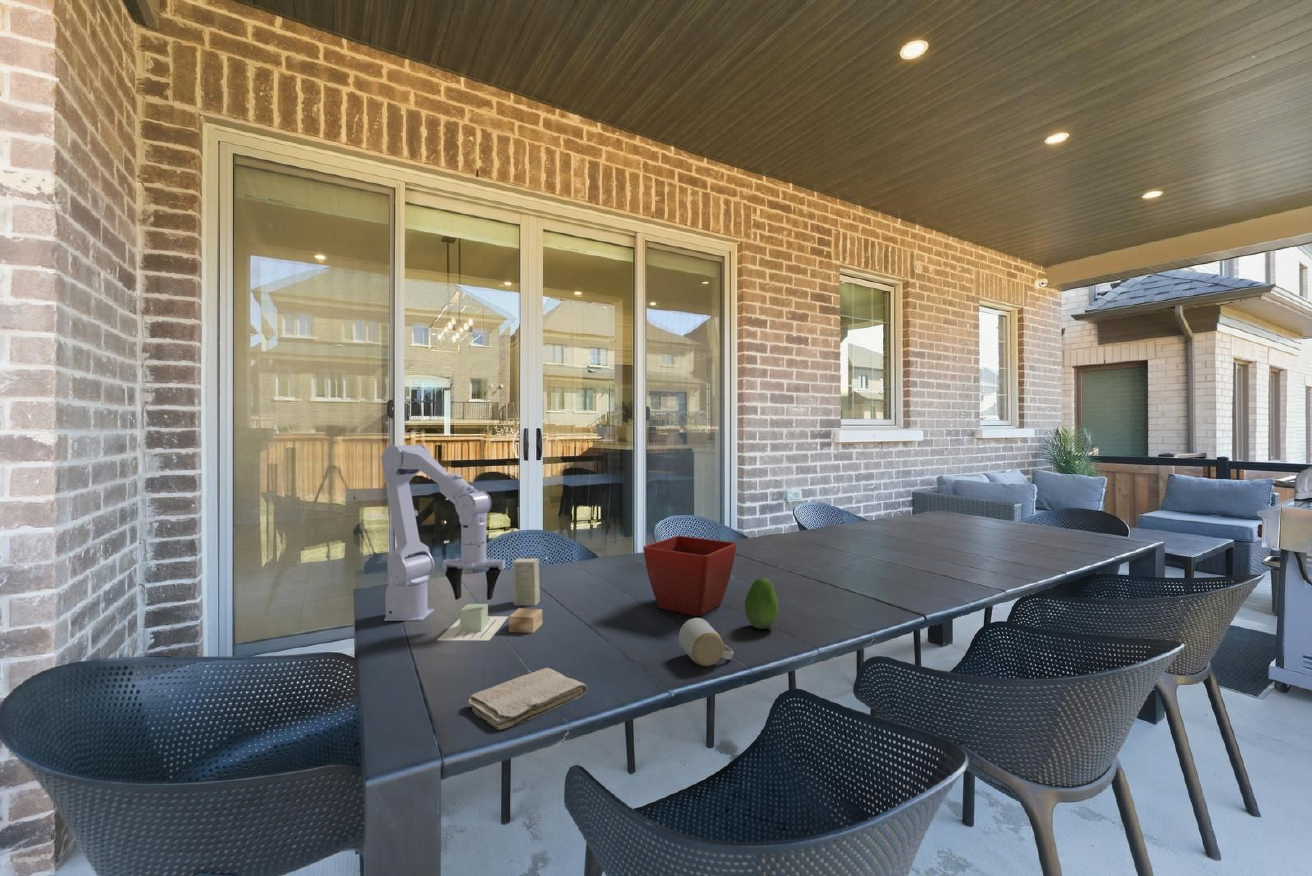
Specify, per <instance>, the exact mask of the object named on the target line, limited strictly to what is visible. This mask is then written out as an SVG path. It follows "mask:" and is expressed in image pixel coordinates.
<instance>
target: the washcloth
mask: <svg viewBox="0 0 1312 876" xmlns="http://www.w3.org/2000/svg"><path fill="white" fill-rule="evenodd" d="M587 690H588V685H587V684H586V683H584V682H582V681H579V680H577V679H574V678H570V677H567V676H565V675H564V674H562V673H560V672H558V671H556V670H554V669H552V668H549V667H544V668H541V669H538V670H536V671H533V672H531V673H528V674H524V675H522V676H518V677H515V678H513V679H511V680H507V681H505V682H502V683H499V684H498V685H494V686H492V687H489V688H486V689H483V690H480V691H478V692H474V693H472V694H471V695H469V697H468V706H467V707H468V708H469V707H472V708H471V710H472V712H474V713H473V714H475V715H476V716H478V718H480V717H481V718H480V719H482V720H484V721H485V720H486V721H485V722H487V723H488V724H489V725H491V726H492V727H494V729H496V730H499V731H501V730H505V729H509V728H513V727H515V726H516V725H517V726H518V725H520V724H523V723H526V722H527V721H526V720H528V721H530V720H532V719H534V718H537V717H539V716H542V715H544V714H546V713H548V712H550V711H553V710H555V709H556V708H559V707H561V706H563V705H565V704H568V703H570V702H572V701H574V700H575V701H576V700H577V699H579V698H581V697H583V696H584V695H585V694H586V693H587ZM524 720H525V721H524Z"/></svg>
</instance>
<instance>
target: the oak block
mask: <svg viewBox="0 0 1312 876" xmlns="http://www.w3.org/2000/svg"><path fill="white" fill-rule="evenodd" d="M542 625H543V609H539V608H523V607H521V608H520V607H518V608H517V610H515V611H514V612H512V613H511V614H510V615H509V617H508V632H509V633H510V632H511V633H528V634H529V633H530V634H534V633H535V632H536V631H537V630H538V629H539V628H540V627H541V626H542Z"/></svg>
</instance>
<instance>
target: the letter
mask: <svg viewBox="0 0 1312 876" xmlns="http://www.w3.org/2000/svg"><path fill="white" fill-rule="evenodd" d="M509 616H510V615H509ZM509 616H500V615H499V616H496V615H495V616H489V615H488V625H487V626H486V627H485V628H484V629H483V630H482V631H481V632H460V618H458V619H457V620H456V621H455V622H454V624H452V625H451V626H450V627H449V628H448V629H447V630H445V632H444V633H443V634H442V635H440V636H439V637H438V638H437V639H436V641H443V642H444V641H491V639H492V638H493V637H494V635H495V634H496V633H497V632H498V630H499V629H500V628H501V626H502V625H503V624H504V623H505V622H506V621H507V619H509Z"/></svg>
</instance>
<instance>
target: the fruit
mask: <svg viewBox="0 0 1312 876" xmlns="http://www.w3.org/2000/svg"><path fill="white" fill-rule="evenodd" d="M778 603H779V602H778V599H777V595H776V592H775V588H774V585H773V583H772V581H771V580H770V579H769V578H766V577H765V578H764V577H760V578H757V579H756V580H755V581H754V582H753V583H752V584H751V587H750V588H749V591H748V593H747V594H746V597H745V600H744V612H745V615H746V618H747V621H749V623H750V624H751V625H752V626H753V627H754V628H756V629H758V630H765V629H766V630H767V629H768V628H770V627H771V626H772V625H774V623H775V622H776V620H777V616H778V612H779V604H778Z"/></svg>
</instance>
